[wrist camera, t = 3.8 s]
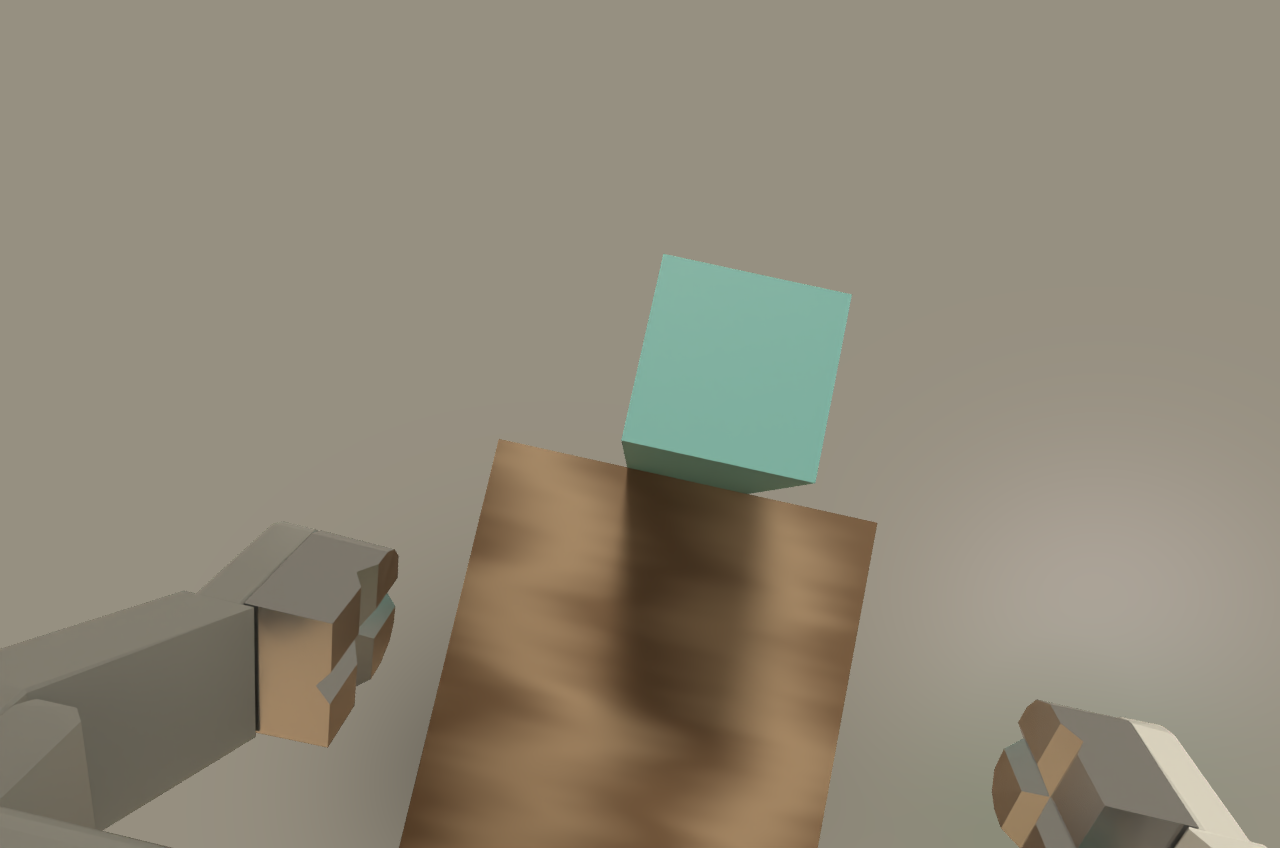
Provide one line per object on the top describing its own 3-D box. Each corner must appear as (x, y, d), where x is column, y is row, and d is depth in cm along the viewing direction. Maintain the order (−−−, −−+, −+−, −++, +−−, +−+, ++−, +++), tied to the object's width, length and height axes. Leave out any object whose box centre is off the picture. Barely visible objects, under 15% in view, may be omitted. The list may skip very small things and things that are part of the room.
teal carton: (621, 440, 15) (663, 254, 15) (630, 483, 36) (647, 406, 37) (815, 483, 14) (851, 294, 15) (707, 500, 36) (723, 423, 37)
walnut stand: (272, 1365, 21) (498, 438, 24) (390, 1088, 31) (539, 460, 34) (703, 1472, 20) (877, 522, 23) (681, 1157, 30) (805, 519, 33)
